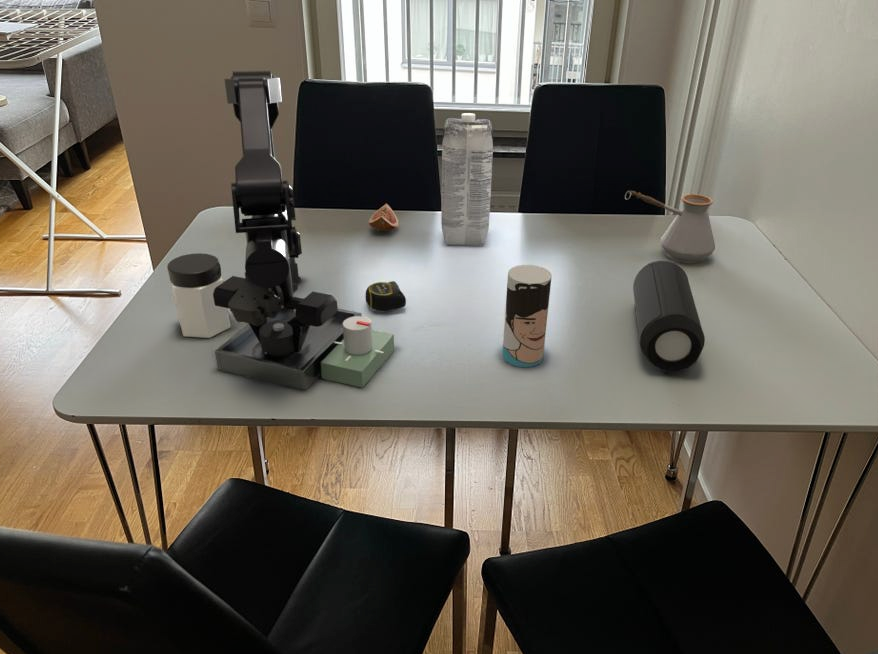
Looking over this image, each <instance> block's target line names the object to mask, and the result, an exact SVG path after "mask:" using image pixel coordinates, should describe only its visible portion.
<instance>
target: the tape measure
mask: <svg viewBox="0 0 878 654" xmlns="http://www.w3.org/2000/svg"><path fill="white" fill-rule="evenodd" d="M364 297H365V302H366V304H367V306H368V307H369V308H371V309H372V310H373V311H377V312H390V311H391V312H392V311H394V310H399V309H402V308H405V307H406V304H407V298H406V296H405V294H404V293H403V292H402V290H401V289H400V287H399V284H398V283H397V282H396V281H395V280H392V281H388V282H386V281H377V282H374V283H372V284H370V285H368V286H367V288H366V290H365V296H364Z"/></svg>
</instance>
